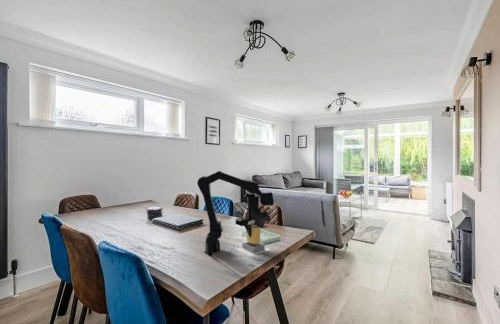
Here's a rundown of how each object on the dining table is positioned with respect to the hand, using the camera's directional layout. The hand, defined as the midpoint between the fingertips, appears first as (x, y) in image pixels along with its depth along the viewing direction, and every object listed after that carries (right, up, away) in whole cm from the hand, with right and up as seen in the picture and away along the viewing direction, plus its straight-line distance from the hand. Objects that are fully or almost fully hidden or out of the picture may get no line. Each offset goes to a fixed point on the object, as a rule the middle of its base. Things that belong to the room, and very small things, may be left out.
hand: (253, 235), depth 130 cm
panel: (0, -8, 0) cm, 8 cm away
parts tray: (+5, -7, +19) cm, 21 cm away
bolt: (+3, -7, +42) cm, 43 cm away
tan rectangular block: (0, -3, 0) cm, 3 cm away
